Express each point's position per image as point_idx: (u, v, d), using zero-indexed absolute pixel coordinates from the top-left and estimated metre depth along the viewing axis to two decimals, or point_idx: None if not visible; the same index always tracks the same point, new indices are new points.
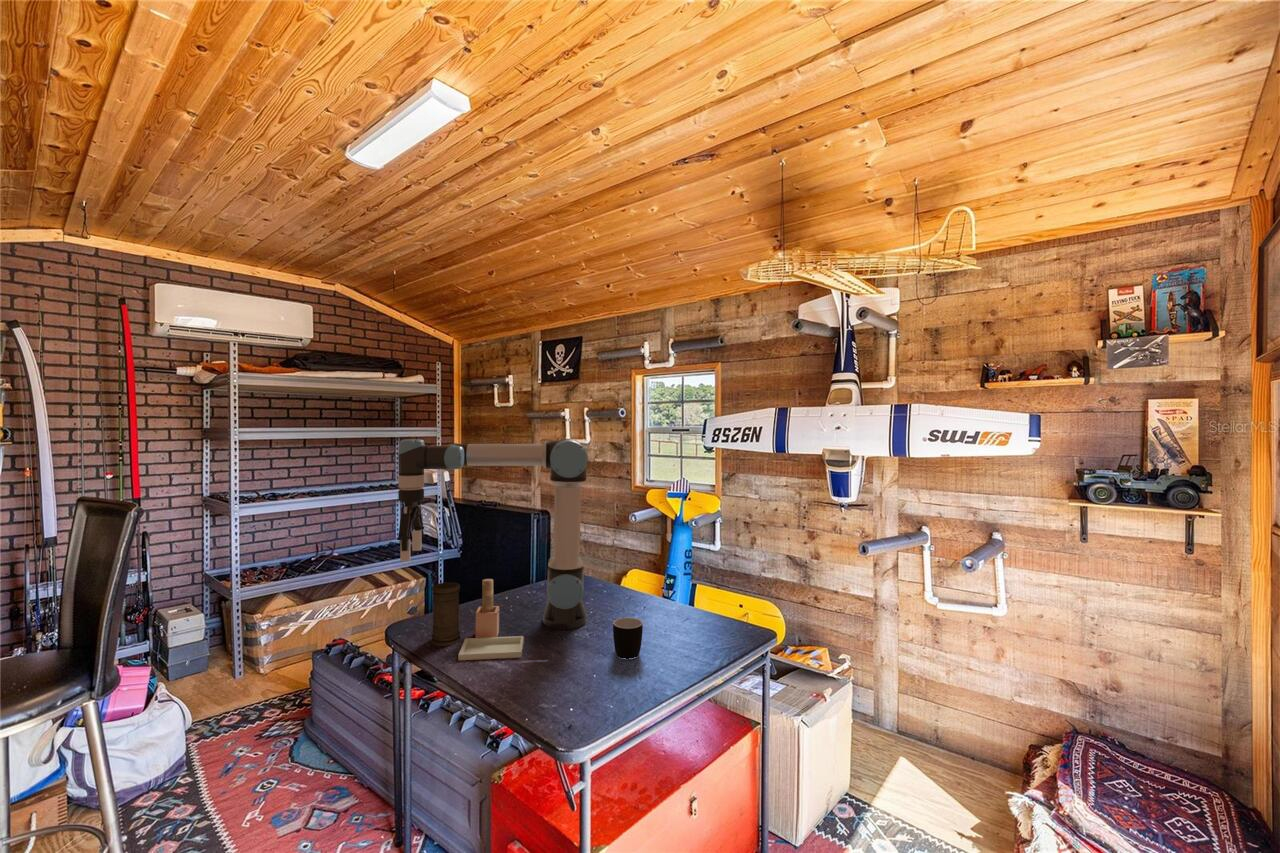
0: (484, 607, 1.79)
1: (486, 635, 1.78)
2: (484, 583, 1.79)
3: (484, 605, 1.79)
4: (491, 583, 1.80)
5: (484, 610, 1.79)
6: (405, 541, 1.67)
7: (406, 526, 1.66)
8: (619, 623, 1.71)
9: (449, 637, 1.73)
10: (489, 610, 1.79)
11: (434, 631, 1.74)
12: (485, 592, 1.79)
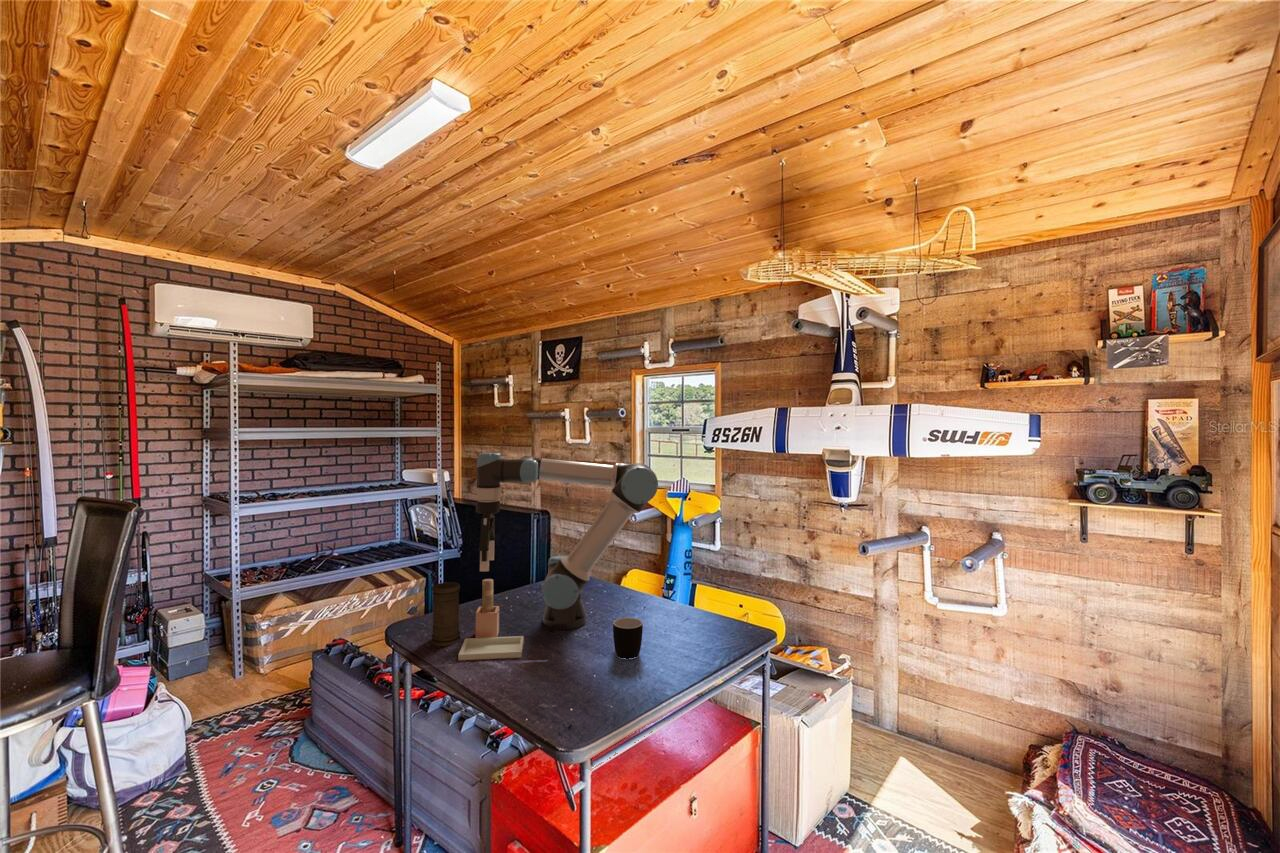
0: (484, 607, 1.79)
1: (486, 635, 1.78)
2: (484, 583, 1.79)
3: (484, 605, 1.79)
4: (491, 583, 1.80)
5: (484, 610, 1.79)
6: (485, 552, 1.72)
7: (486, 537, 1.72)
8: (619, 623, 1.71)
9: (449, 637, 1.73)
10: (489, 610, 1.79)
11: (434, 631, 1.74)
12: (485, 592, 1.79)
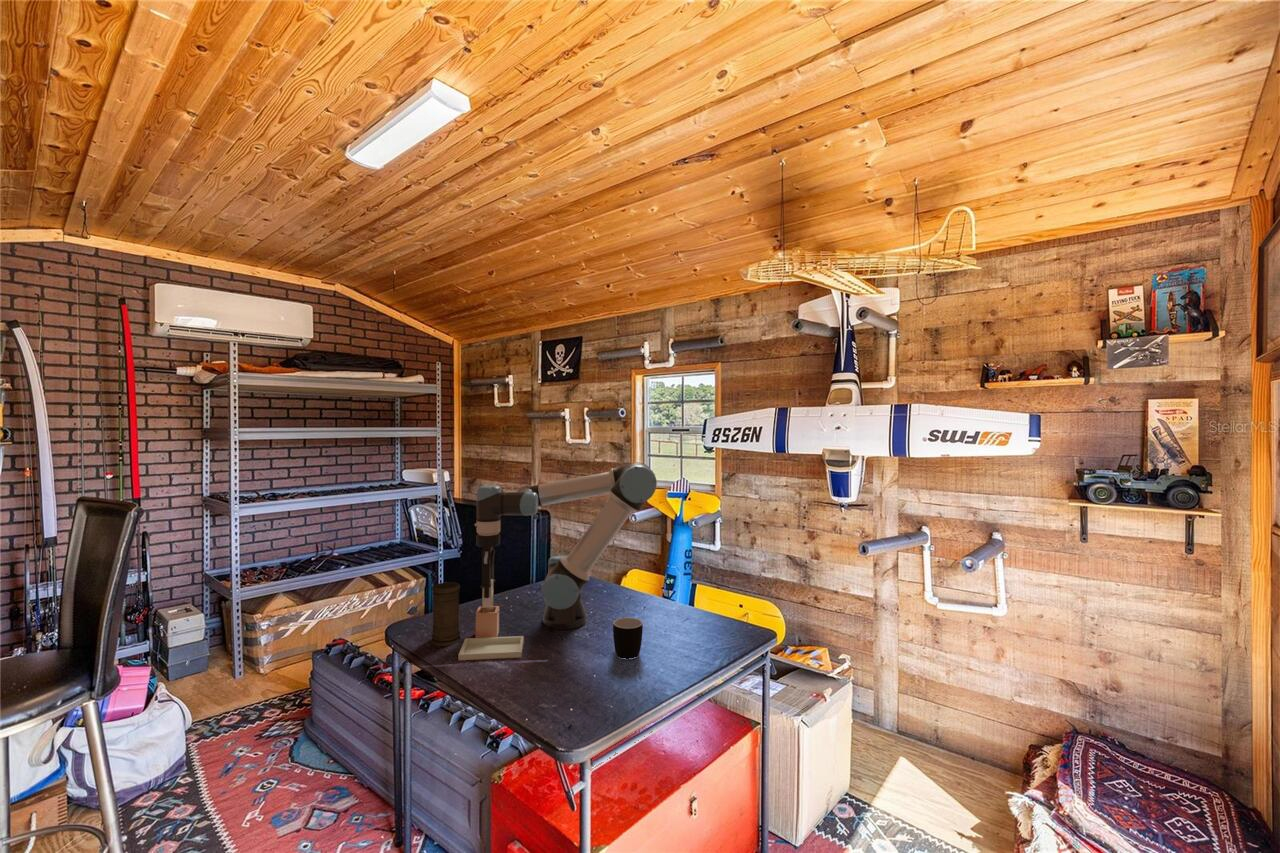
0: None
1: (486, 635, 1.78)
2: None
3: None
4: (491, 583, 1.80)
5: (484, 610, 1.79)
6: (487, 589, 1.77)
7: (488, 576, 1.75)
8: (619, 623, 1.71)
9: (449, 637, 1.73)
10: (489, 610, 1.79)
11: (434, 631, 1.74)
12: None
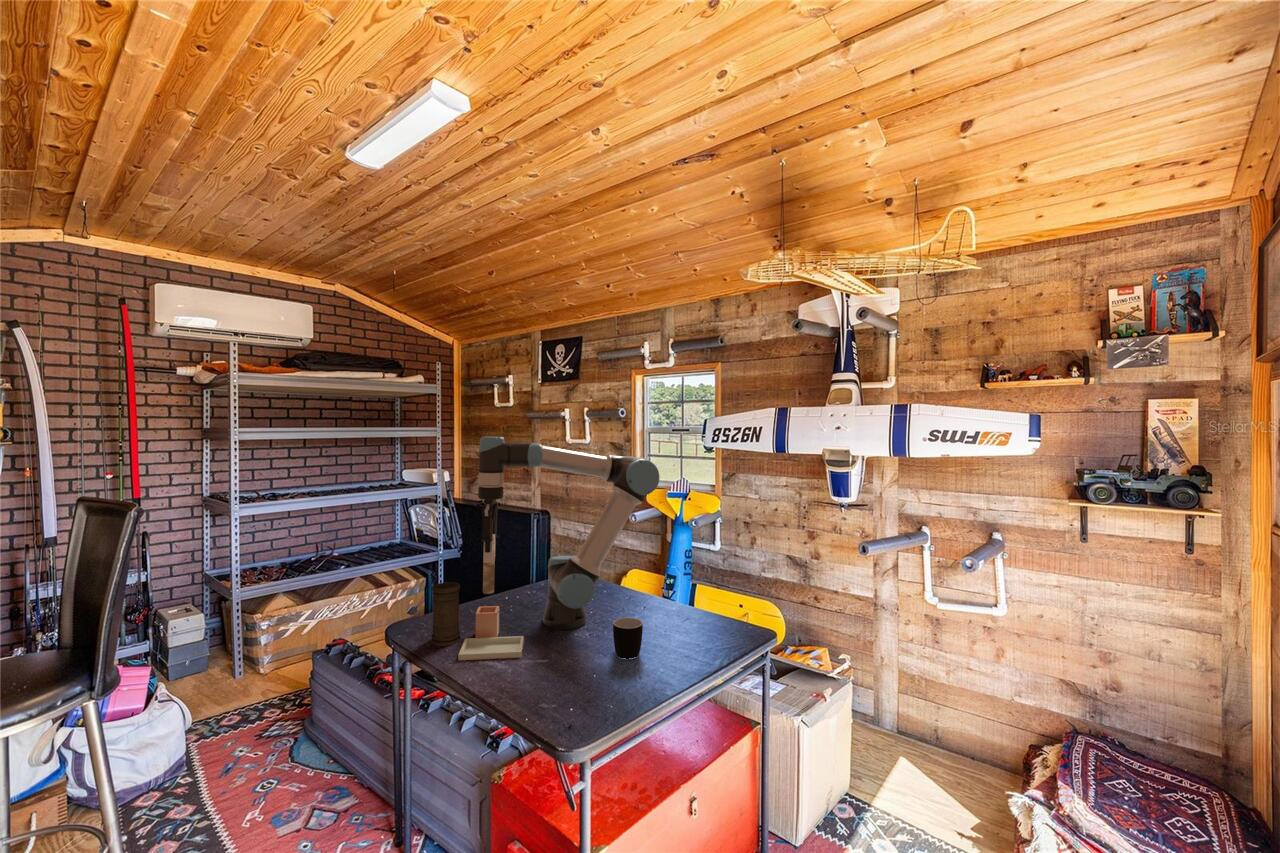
0: None
1: (486, 635, 1.78)
2: None
3: None
4: (493, 538, 1.73)
5: (485, 565, 1.72)
6: (488, 543, 1.70)
7: (489, 529, 1.68)
8: (619, 623, 1.71)
9: (449, 637, 1.73)
10: (490, 566, 1.72)
11: (434, 631, 1.74)
12: None
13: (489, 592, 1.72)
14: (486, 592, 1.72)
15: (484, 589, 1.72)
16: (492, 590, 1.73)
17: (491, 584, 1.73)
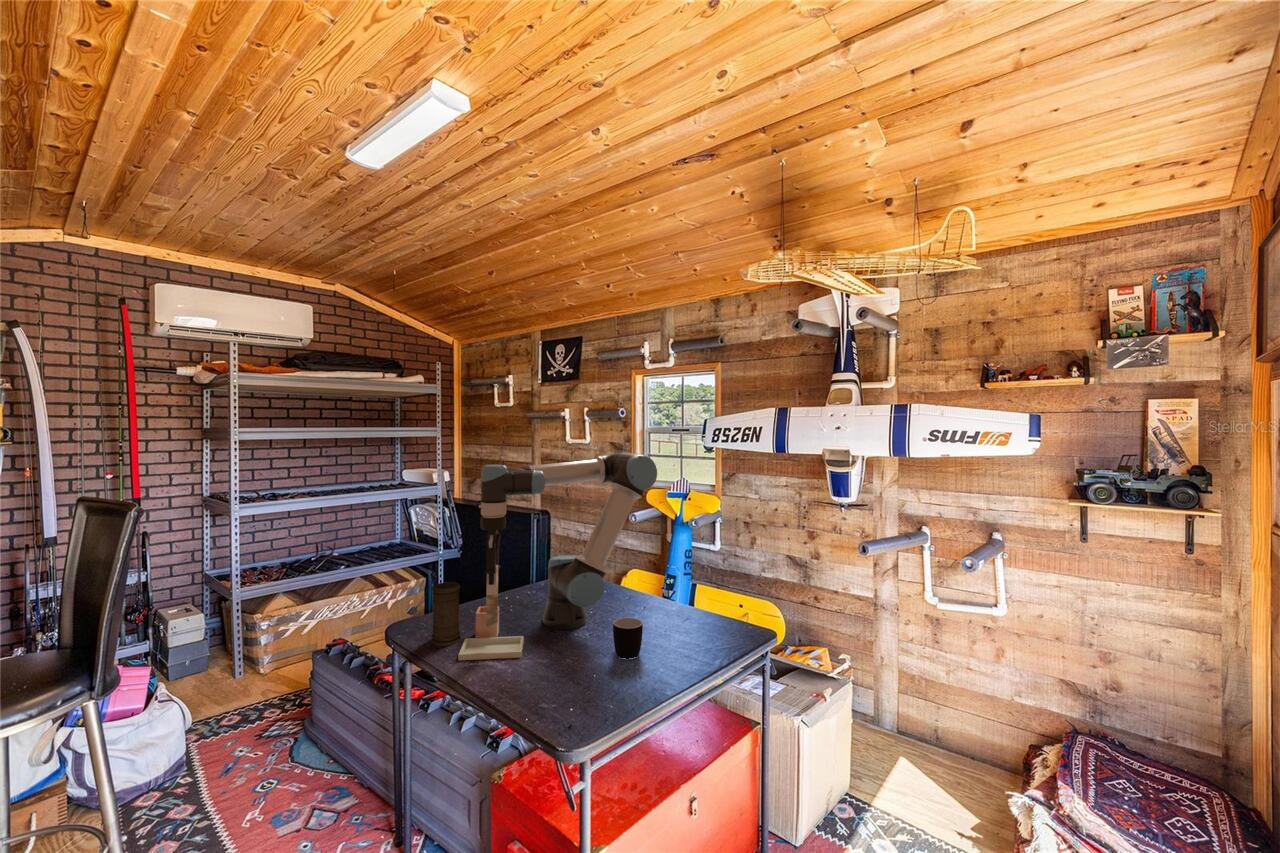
0: None
1: (486, 635, 1.78)
2: None
3: None
4: (496, 569, 1.68)
5: (488, 598, 1.68)
6: (492, 575, 1.66)
7: (493, 561, 1.64)
8: (619, 623, 1.71)
9: (449, 637, 1.73)
10: (494, 598, 1.68)
11: (434, 631, 1.74)
12: None
13: (493, 625, 1.68)
14: (490, 625, 1.68)
15: (487, 622, 1.68)
16: (496, 623, 1.69)
17: (495, 617, 1.68)
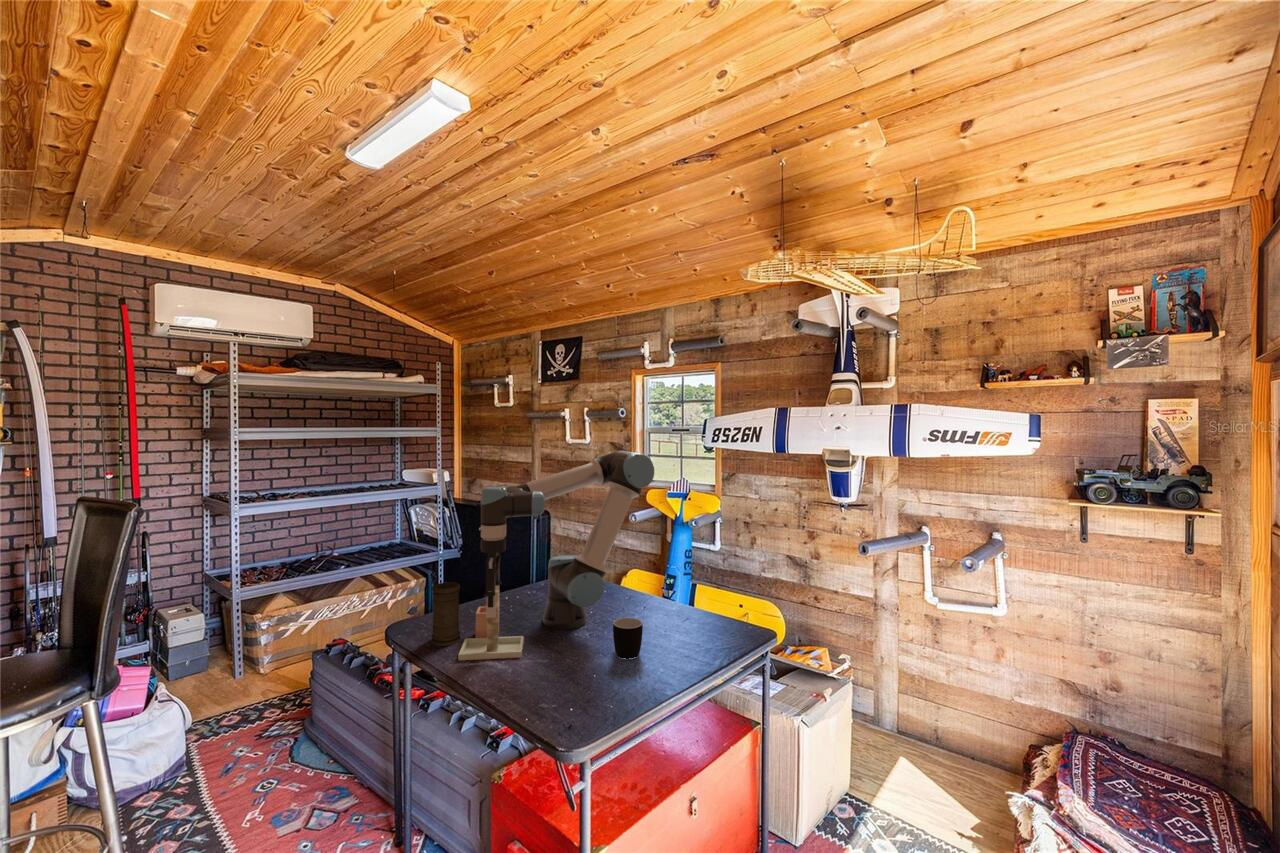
0: (489, 620, 1.68)
1: (486, 635, 1.78)
2: None
3: (489, 618, 1.68)
4: (497, 594, 1.68)
5: (489, 623, 1.68)
6: (491, 597, 1.63)
7: (492, 582, 1.62)
8: (619, 623, 1.71)
9: (449, 637, 1.73)
10: (494, 623, 1.68)
11: (434, 631, 1.74)
12: None
13: (493, 650, 1.68)
14: (490, 650, 1.68)
15: (488, 647, 1.68)
16: (496, 648, 1.69)
17: (495, 642, 1.68)
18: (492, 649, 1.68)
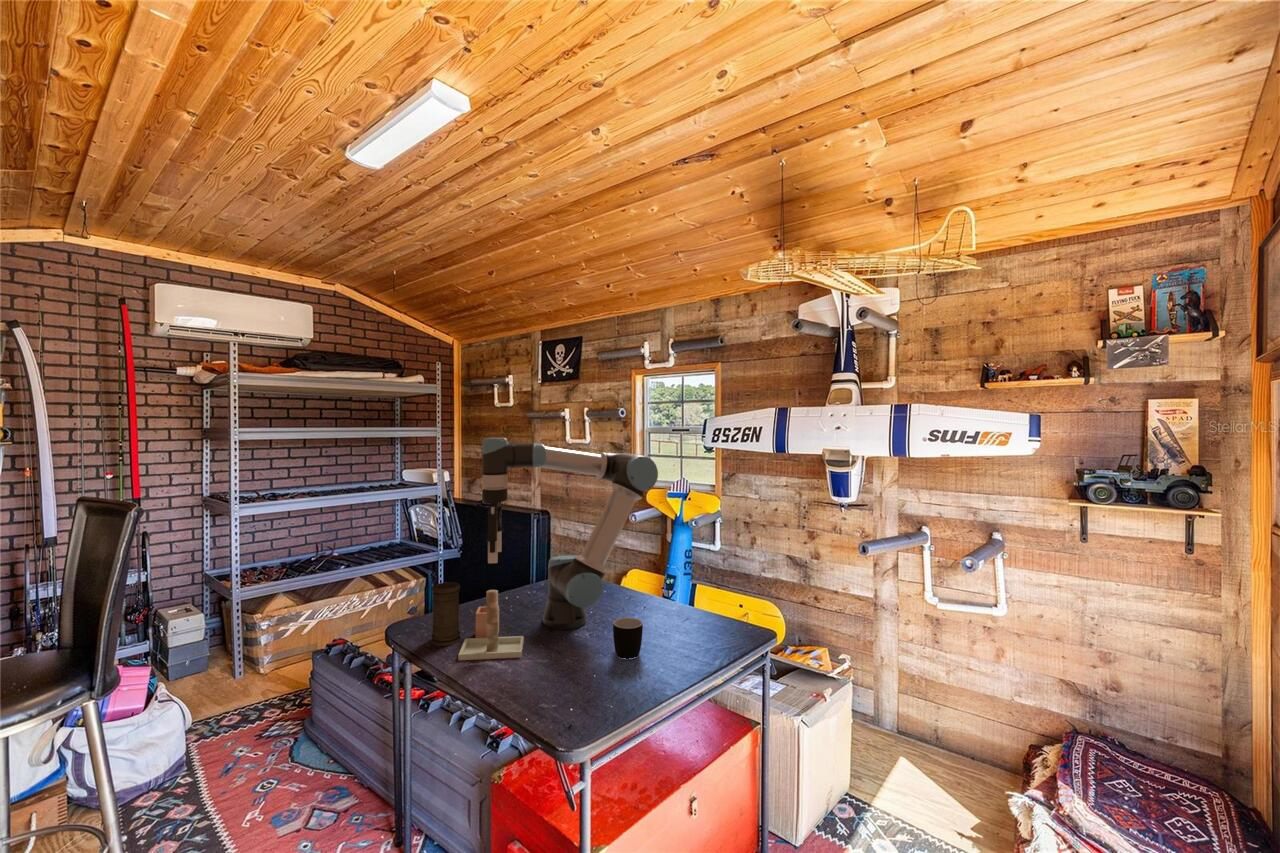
0: (488, 620, 1.68)
1: (486, 635, 1.78)
2: (488, 594, 1.68)
3: (488, 618, 1.68)
4: (496, 594, 1.68)
5: (488, 623, 1.68)
6: (493, 542, 1.62)
7: (494, 527, 1.62)
8: (619, 623, 1.71)
9: (449, 637, 1.73)
10: (494, 623, 1.68)
11: (434, 631, 1.74)
12: (490, 604, 1.68)
13: (493, 650, 1.68)
14: (490, 651, 1.68)
15: (488, 647, 1.68)
16: (496, 648, 1.69)
17: (495, 642, 1.68)
18: (492, 649, 1.68)
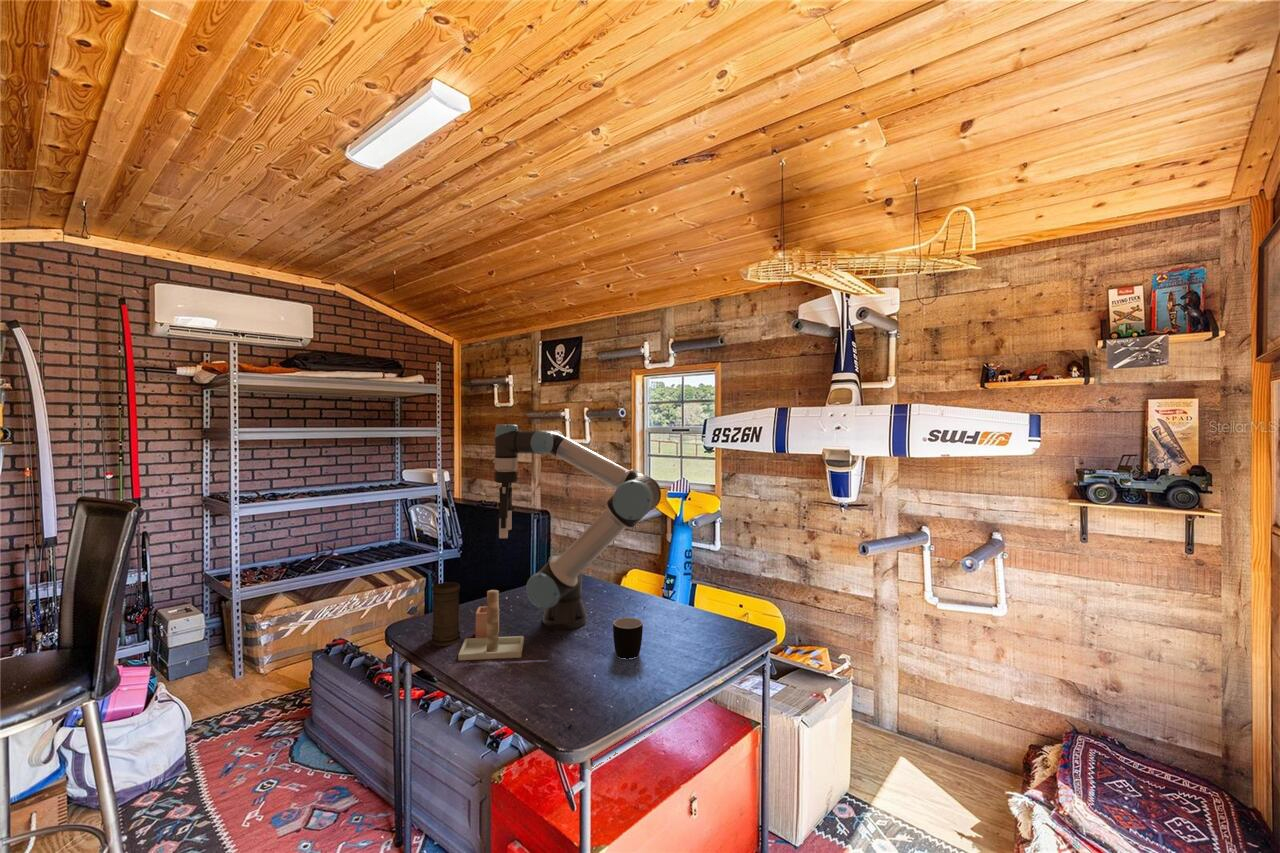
0: (489, 620, 1.68)
1: (486, 635, 1.78)
2: (489, 594, 1.68)
3: (489, 618, 1.68)
4: (496, 594, 1.68)
5: (489, 623, 1.68)
6: (504, 519, 1.78)
7: (505, 505, 1.77)
8: (619, 623, 1.71)
9: (449, 637, 1.73)
10: (494, 623, 1.68)
11: (434, 631, 1.74)
12: (490, 604, 1.68)
13: (493, 650, 1.68)
14: (490, 651, 1.68)
15: (488, 647, 1.68)
16: (496, 648, 1.69)
17: (495, 642, 1.68)
18: (492, 649, 1.68)
